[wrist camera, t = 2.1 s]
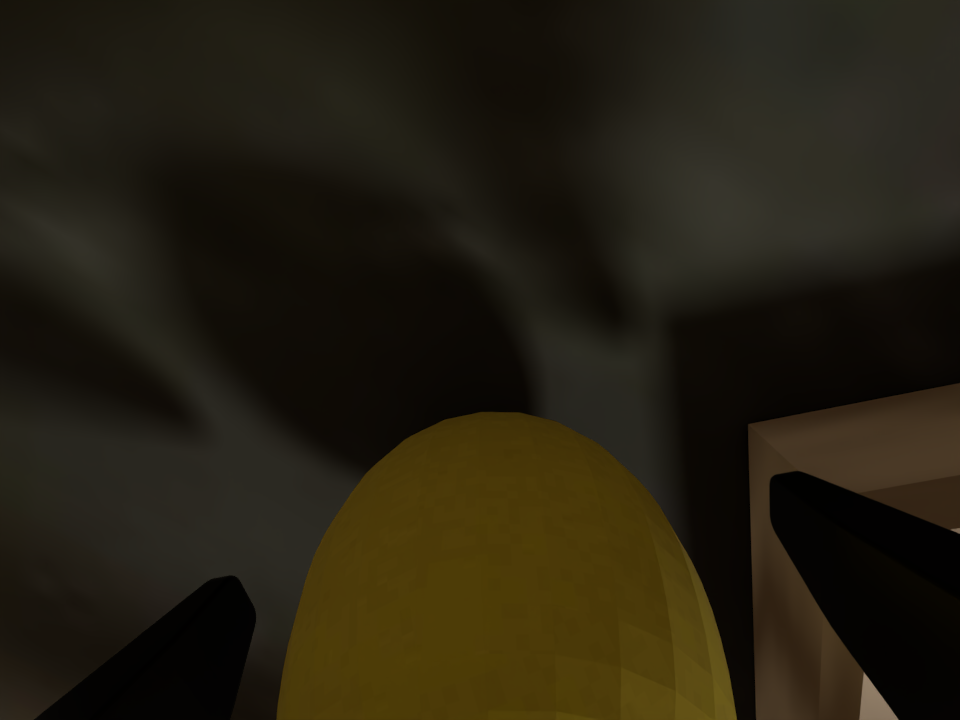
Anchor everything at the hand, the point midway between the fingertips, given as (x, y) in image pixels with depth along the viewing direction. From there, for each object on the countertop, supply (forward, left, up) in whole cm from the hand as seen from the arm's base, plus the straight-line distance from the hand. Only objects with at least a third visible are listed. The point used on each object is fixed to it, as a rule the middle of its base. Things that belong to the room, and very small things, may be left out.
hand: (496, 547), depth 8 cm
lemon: (0, 0, -3) cm, 3 cm away
